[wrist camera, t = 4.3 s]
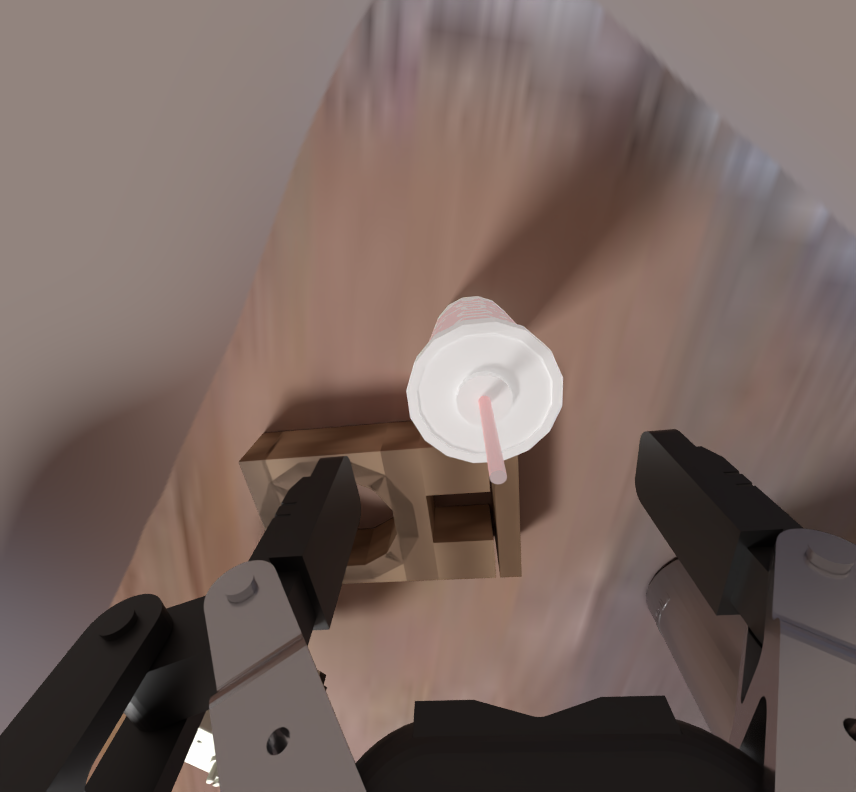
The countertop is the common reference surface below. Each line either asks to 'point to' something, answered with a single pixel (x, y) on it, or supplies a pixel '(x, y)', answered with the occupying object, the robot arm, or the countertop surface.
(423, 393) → the beverage cup
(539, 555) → the countertop surface
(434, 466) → the socket block
